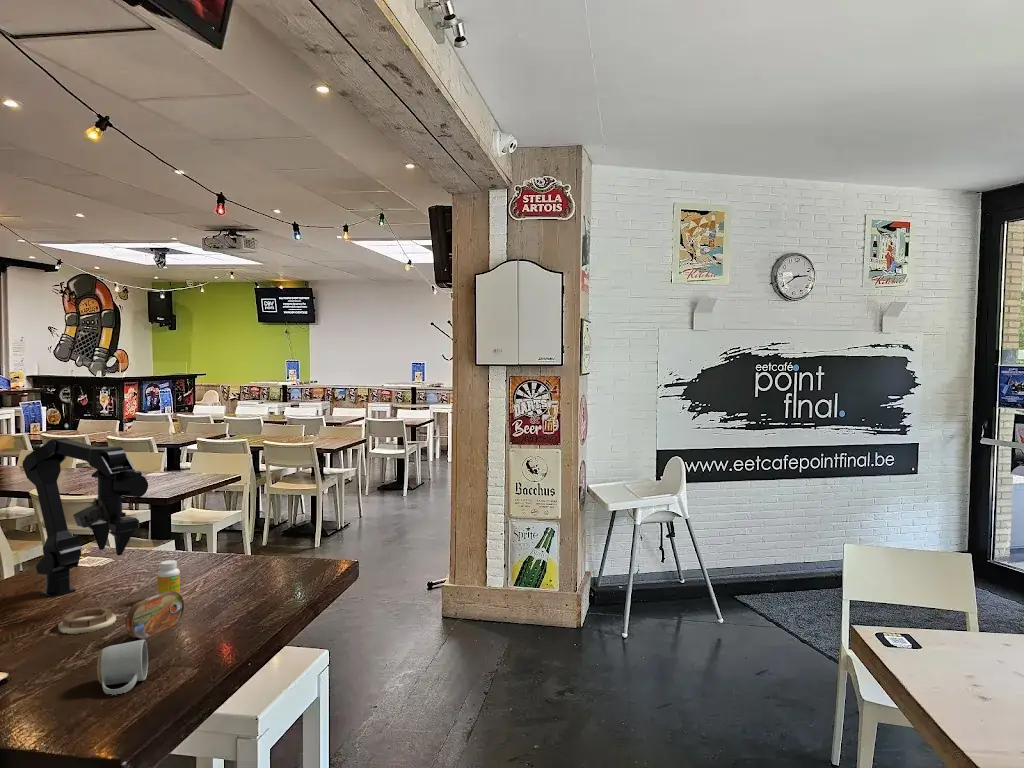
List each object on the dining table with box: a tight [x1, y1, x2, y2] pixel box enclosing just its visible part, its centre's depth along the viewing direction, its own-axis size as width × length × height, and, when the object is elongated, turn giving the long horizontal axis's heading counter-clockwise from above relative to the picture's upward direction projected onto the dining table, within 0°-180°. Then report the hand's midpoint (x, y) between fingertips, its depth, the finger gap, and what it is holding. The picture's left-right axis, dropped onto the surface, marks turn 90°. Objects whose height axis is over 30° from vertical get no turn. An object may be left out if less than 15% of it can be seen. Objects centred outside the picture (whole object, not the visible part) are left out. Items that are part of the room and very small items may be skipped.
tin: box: [125, 592, 185, 640], centre depth 167 cm, size 15×3×8 cm, turn 160°
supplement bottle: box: [157, 559, 181, 595], centre depth 192 cm, size 5×5×10 cm
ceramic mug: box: [96, 639, 149, 696], centre depth 139 cm, size 11×8×8 cm
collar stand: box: [58, 606, 117, 635], centre depth 172 cm, size 12×12×2 cm
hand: (110, 552), depth 190 cm, fingers open, 9 cm apart
